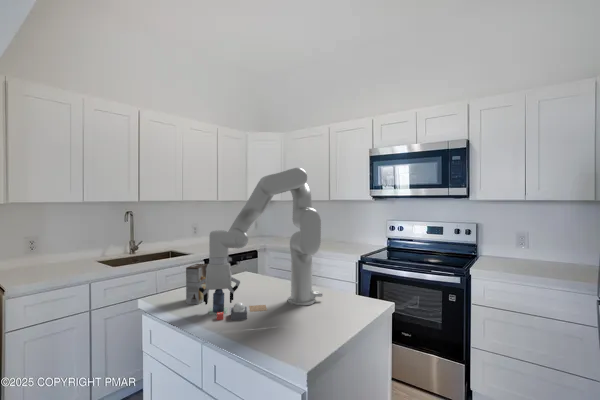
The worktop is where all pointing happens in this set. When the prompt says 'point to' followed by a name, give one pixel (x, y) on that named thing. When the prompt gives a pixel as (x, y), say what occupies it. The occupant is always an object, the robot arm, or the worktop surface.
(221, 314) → the game board
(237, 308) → the popper dome
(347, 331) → the worktop surface
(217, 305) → the pawn
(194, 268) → the coffee box
